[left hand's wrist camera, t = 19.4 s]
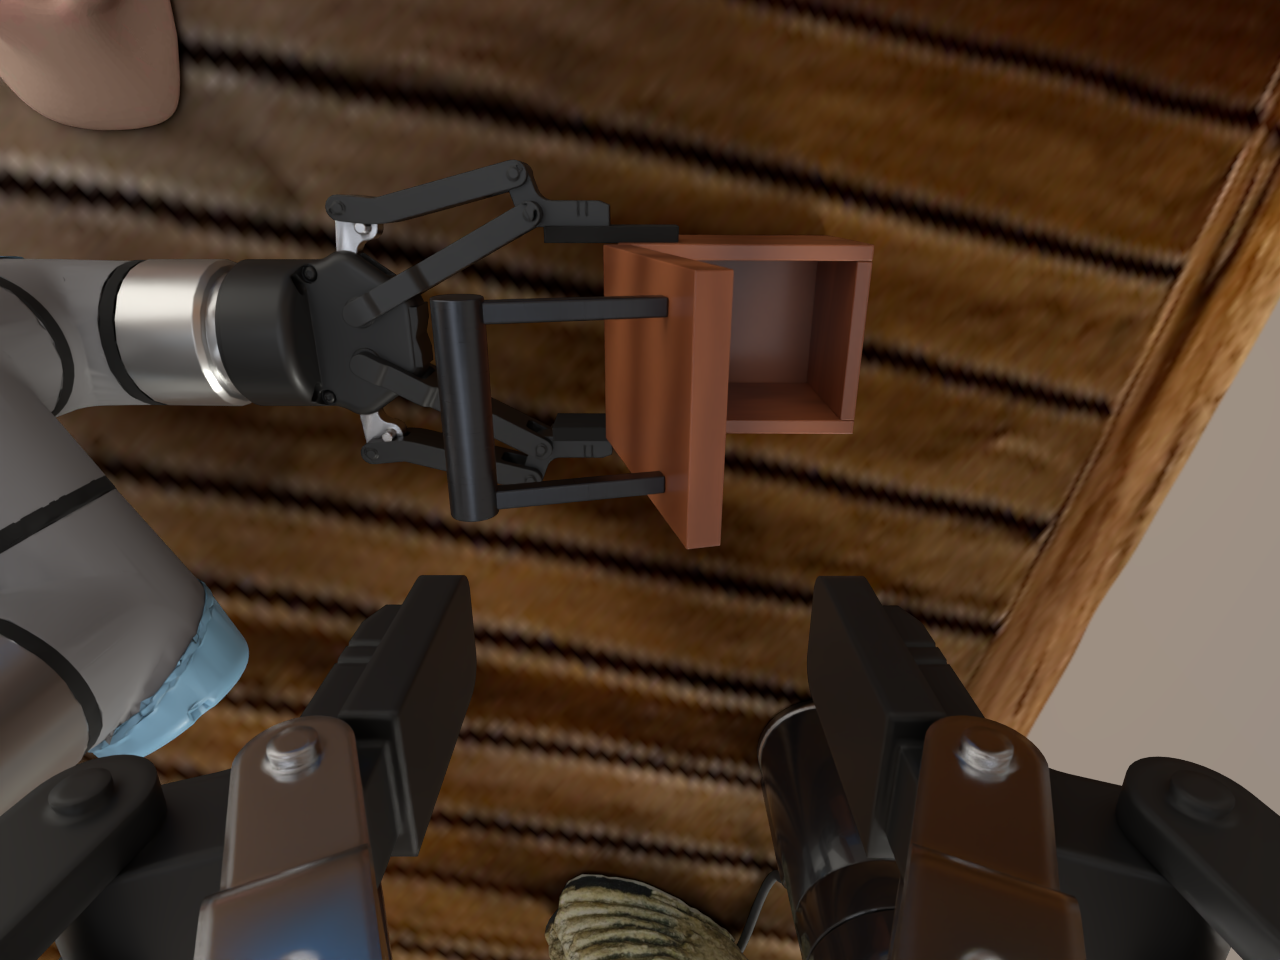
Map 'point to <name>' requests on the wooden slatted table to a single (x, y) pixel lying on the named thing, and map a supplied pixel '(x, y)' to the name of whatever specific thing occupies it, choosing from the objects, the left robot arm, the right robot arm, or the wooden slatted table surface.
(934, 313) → the wooden slatted table surface
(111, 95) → the anatomical model
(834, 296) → the chest
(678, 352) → the lid
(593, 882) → the fossil
